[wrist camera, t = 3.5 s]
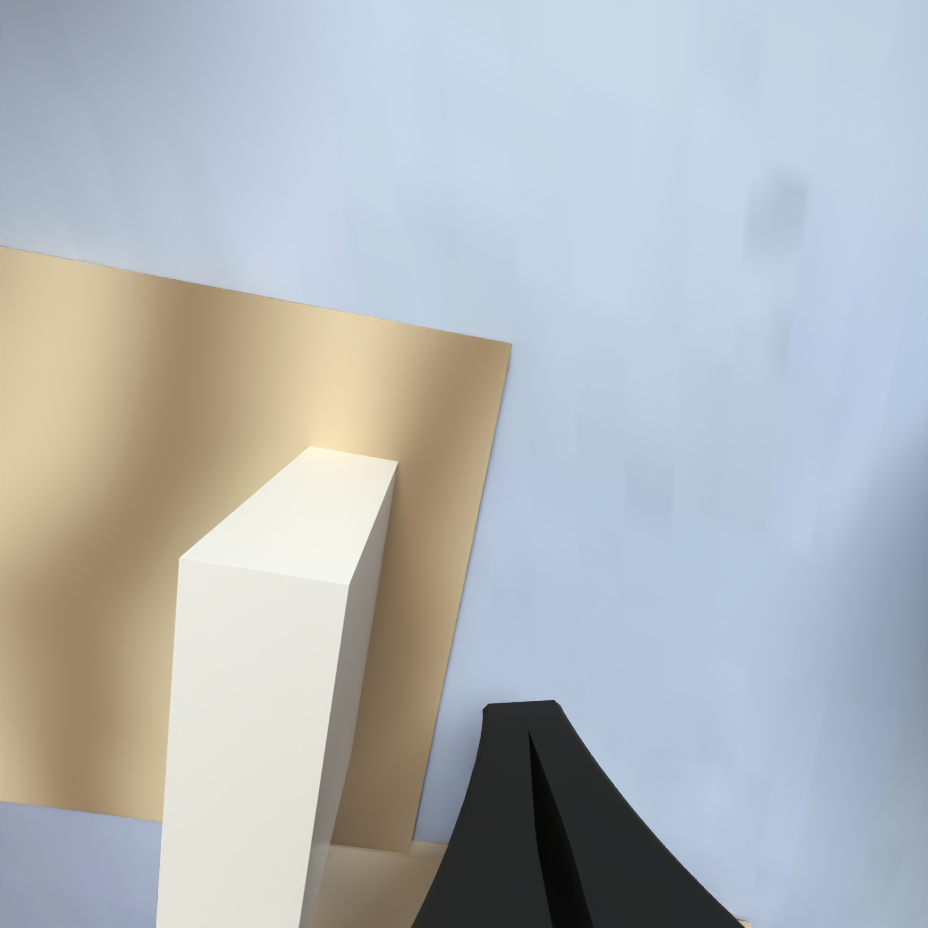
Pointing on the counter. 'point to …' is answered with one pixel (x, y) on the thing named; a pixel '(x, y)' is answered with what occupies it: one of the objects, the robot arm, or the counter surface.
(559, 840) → the robot arm
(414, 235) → the counter surface
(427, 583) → the bamboo mat
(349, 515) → the white block
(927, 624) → the counter surface
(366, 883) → the beech spatula
